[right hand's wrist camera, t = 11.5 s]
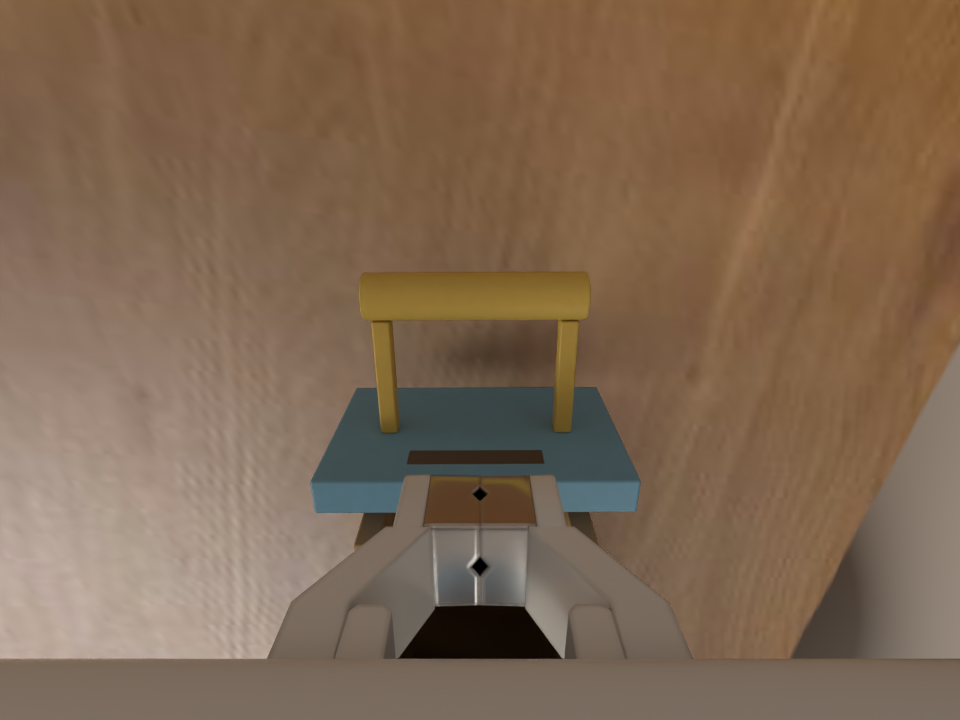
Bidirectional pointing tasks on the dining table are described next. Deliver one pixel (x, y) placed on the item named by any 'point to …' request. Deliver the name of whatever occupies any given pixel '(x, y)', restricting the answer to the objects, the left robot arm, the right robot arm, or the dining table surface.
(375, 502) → the drawer
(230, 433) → the dining table surface
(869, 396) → the dining table surface
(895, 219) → the dining table surface
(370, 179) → the dining table surface
